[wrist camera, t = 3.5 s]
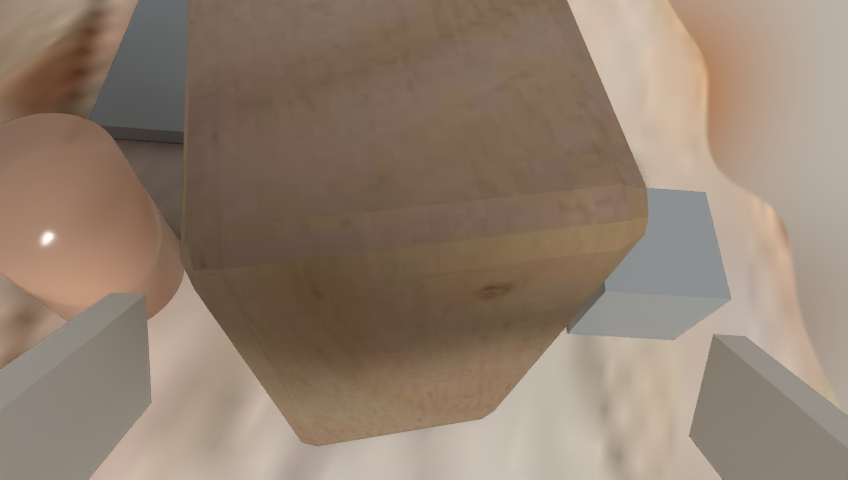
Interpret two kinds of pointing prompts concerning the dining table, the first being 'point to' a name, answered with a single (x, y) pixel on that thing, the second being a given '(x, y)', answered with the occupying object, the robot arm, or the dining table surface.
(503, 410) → the dining table surface
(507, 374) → the wooden block
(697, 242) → the blue grey box
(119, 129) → the slate grey board
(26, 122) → the peach rounded cylinder
